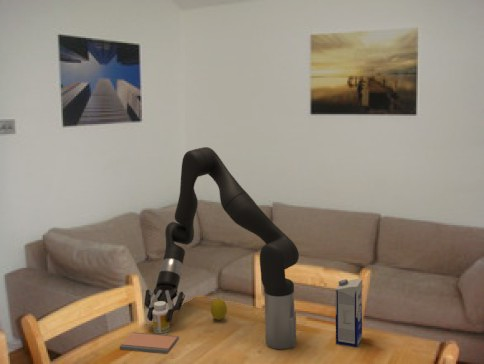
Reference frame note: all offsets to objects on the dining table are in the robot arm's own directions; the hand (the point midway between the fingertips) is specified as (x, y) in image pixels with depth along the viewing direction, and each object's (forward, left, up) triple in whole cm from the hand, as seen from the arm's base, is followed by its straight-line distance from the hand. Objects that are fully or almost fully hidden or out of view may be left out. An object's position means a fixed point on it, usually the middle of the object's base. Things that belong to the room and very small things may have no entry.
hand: (158, 320), depth 184 cm
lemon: (-17, -13, -4) cm, 22 cm away
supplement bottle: (0, -2, -4) cm, 5 cm away
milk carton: (-62, -5, -4) cm, 62 cm away
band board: (0, +8, -4) cm, 9 cm away
